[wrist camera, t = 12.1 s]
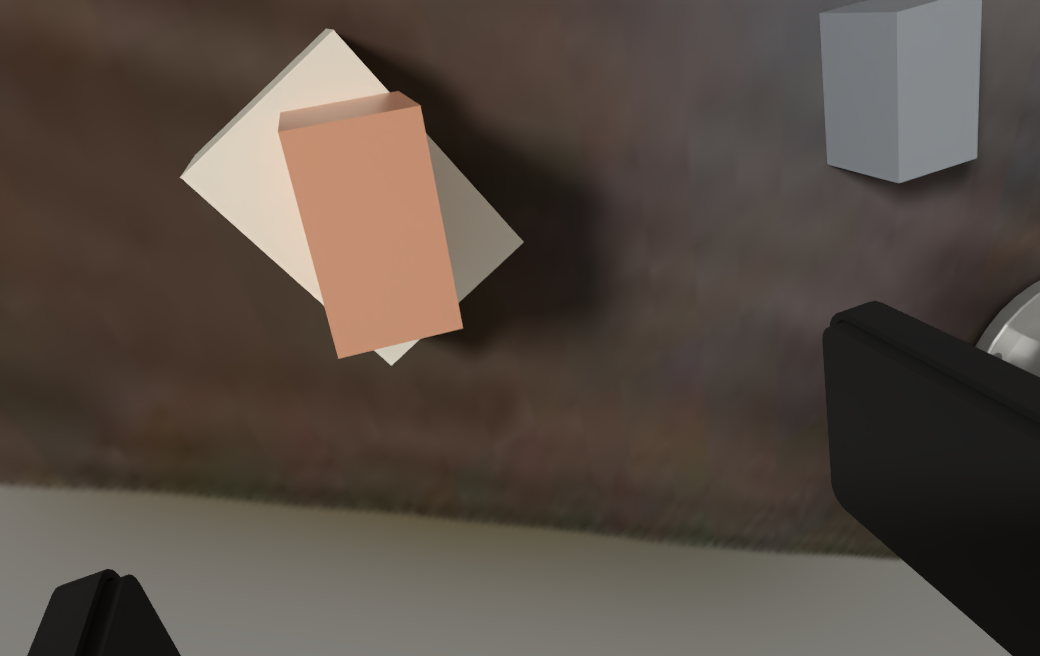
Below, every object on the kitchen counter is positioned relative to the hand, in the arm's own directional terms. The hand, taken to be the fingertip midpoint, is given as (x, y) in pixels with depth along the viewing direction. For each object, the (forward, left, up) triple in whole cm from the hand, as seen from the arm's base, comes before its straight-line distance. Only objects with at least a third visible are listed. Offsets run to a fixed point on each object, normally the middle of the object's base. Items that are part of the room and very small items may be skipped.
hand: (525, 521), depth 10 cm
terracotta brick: (0, 0, -20) cm, 20 cm away
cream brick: (0, 0, -25) cm, 25 cm away
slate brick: (-2, -24, -24) cm, 34 cm away
